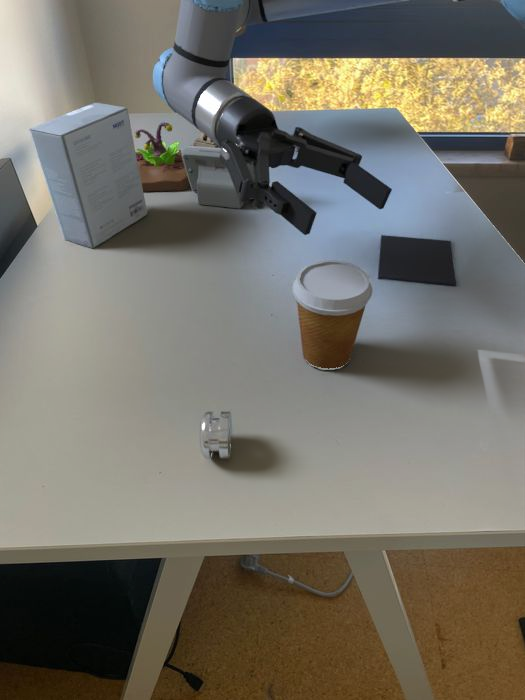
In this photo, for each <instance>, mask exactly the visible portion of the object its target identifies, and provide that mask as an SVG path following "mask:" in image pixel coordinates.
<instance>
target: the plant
mask: <svg viewBox="0 0 525 700" xmlns="http://www.w3.org/2000/svg"><path fill="white" fill-rule="evenodd" d="M162 127H164V129H165V130H166V131H167V132H172V131H173V126H172V124H170V123H169V122H165V121H163V122H161V123H160V124H158V126H157V128H156V135H155V137H156V138H155V137H154V135H152V133H150V132H149V131H147V130H145V129H143V128H141V129H139V130H136V131H135V132H134V137H135V138H136V139H140V138H141V133H144V134H145V135H146V136H147V138H148V140H147V141H145V142H144V144H143V149H144V150H143V149H141V148H135V152H136V157H137V163H138V168H139V173H140V178H141V183H142V188H143V193H145V192H181V191H185V190H186V189H188V188H189V187H191V186H190V182H189V179H188V175H187V172H186V169H185V165H184V162H183V159H182V155H181V149H178V147H179V145H180V141H175V142H173V143H172V144H170V145H169V146H167V144H166V142H165V141H164V140H162V135H161V134H162Z"/></svg>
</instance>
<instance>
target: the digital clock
mask: <svg viewBox="0 0 525 700" xmlns="http://www.w3.org/2000/svg"><path fill="white" fill-rule="evenodd" d="M180 150H181V155H182V159H183V162H184V165H185V169H186V172H187V175H188V179H189V182H190V186H189V187H190V188H191V191H192V192H193V193H196V194H197V202H198V205H200V206H201V205H202V206H211V207H221V208H231V209H241V208H242V207H243V205H244V204H245V203H243V202H241V201H240V200H239V198H238V195H237V192H236V190H235V187H234V185H233V182H232V179H231V177H230V174H229V171H228V169H227V167H226V166H225V165H224V164H223V163H222V162H221V161H220V160H219V157H220V151H221V148H212V147H199V146H192V145H187V146H182V147H181V149H180ZM246 164H247V166H248V169H249V171H250V173H251V176H252V178H253V180H254V166H253V162H251V163H246Z"/></svg>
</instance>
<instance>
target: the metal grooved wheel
mask: <svg viewBox="0 0 525 700" xmlns="http://www.w3.org/2000/svg"><path fill="white" fill-rule="evenodd" d="M231 434H232V435H233V417H232V412H231V411H230V410H229V411H226V410H225V411H222V410H221V411H220V414H219V417H215V414H214V412H213V411H212V410H211V411H210V410H209V411H205V412H204V413H203V414H202V417H201V420H200V425H199V448H200V449H199V450H200V454H201V455H202V457H203V458H205V459H212V458H211V453H212V452H213V453H216V452H217V453H218V454H219V458H220V459H224V458H228V459H227V460H229V459H230V458H229V455H230V444H231ZM230 456H231V455H230Z"/></svg>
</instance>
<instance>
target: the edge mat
mask: <svg viewBox="0 0 525 700" xmlns="http://www.w3.org/2000/svg"><path fill="white" fill-rule="evenodd" d="M452 247H453V246H452V241H451V240H447V239H434V238H421V237H411V236H409V237H408V236H397V235H385V234H381V236H380V245H379V260H378V261H379V262H378V276H377V279H378V280H387V281H389V280H390V281H399V282H408V283H409V282H410V283H419V284H429V285H438V286H439V285H440V286H451V287H456V286H457V277H456V270H455V264H454V263H455V262H454V256H453V255H454V254H453V249H452Z"/></svg>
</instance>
